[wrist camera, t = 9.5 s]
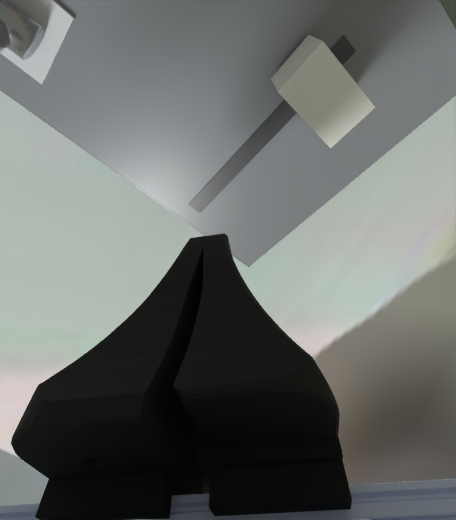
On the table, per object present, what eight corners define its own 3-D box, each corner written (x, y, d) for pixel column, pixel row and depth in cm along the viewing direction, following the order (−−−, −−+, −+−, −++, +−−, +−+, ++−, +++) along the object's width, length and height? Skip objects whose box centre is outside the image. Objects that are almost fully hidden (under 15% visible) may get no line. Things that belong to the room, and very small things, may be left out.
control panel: (-85, -12, 14) (-152, -15, 12) (44, -581, 8) (-42, -853, 5) (246, 239, 23) (248, 269, 20) (444, 63, 16) (484, 74, 14)
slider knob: (270, 78, 14) (277, 91, 12) (308, 34, 13) (322, 41, 11) (317, 128, 15) (330, 148, 13) (354, 92, 14) (375, 107, 12)
